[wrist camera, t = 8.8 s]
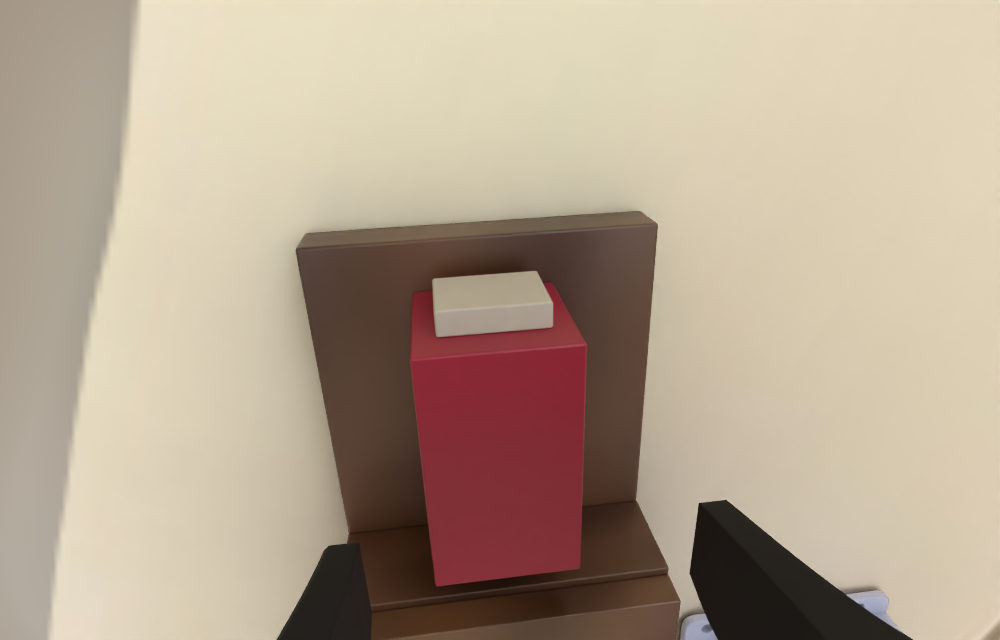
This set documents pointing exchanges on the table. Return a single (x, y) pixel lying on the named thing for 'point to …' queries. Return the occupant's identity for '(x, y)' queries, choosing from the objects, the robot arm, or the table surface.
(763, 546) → the robot arm
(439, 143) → the table surface
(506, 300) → the red box with cap
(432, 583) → the step shelf
